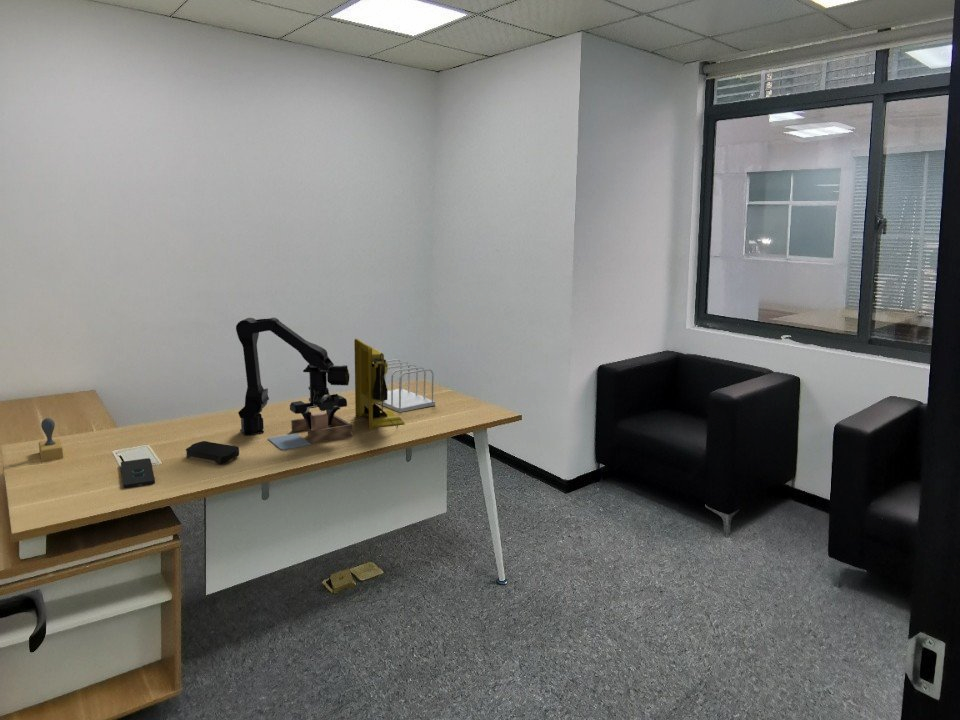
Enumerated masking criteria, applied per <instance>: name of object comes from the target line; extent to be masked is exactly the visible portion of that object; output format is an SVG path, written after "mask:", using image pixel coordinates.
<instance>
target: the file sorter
mask: <svg viewBox="0 0 960 720" xmlns="http://www.w3.org/2000/svg"><path fill="white" fill-rule="evenodd" d="M386 362H387V366H388V370H390V369H395V370H394V371H393V372H392V374H391V377H390V378H391V379H390V380H391V382H390V383H391V390H389V389H388V390H387V391H388V400H384V402H383V407H386V408H388V409H390V410H391V411H395V412H398V413H403V412H408V411H413V410H419V409H422V408H427V407H433V406H436V400H434V380H435V379H434V371H433V370H432V369H430V368H426V369H425V368H424V367H422V366H417V365H416V364H414V363H413V364H412V363H411V364H409V362H407V361H401V360H400V359H397V358H396V359H388V360H386ZM403 364H404V365H403ZM390 365H391V366H390ZM393 365H394V366H393ZM404 367H407V368H404ZM396 368H399V369H396ZM411 370H413V371H411ZM403 371H405V372H403ZM406 371H407V372H406ZM427 371H428V372H430V373H431V399H429V398H427V397H426V376H427V373H426V372H427ZM397 372H400V376H399V381H398V385H399V386H398V388H396V389H394V375H395V374H396V373H397ZM422 372H423V395H421V394H418V381H419V380H418V379H419V378H418V376H419V373H422ZM413 373H414V374H415V392H412V391H410V378H411V376H410V374H413ZM386 375H387V374H386ZM386 375H385V376H384V378H385V379H386V377H387V376H386ZM404 375H407V389H404V388H403V385H402V384H403V376H404ZM378 404H379V405H381V406H382V402H380V403H377V405H378Z"/></svg>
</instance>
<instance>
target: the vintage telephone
mask: <svg viewBox="0 0 960 720" xmlns="http://www.w3.org/2000/svg"><path fill="white" fill-rule="evenodd" d="M386 361H387V360H386V359H385V354H384V353H382V352H381V351H380V350H378V349H376V348H375V347H373V346H370V345H368V344H367V343H366V342H364V341H363V340H360V339H359V338H354V391H355V392H354V395H355V396H354V399H355V400H354V401H355V402H354V403H355V405H354V406H355V411H354V412H355V417H360V416H361V417H362V416H364V417H368V430H369V429H370V430H373V429H374V428H373V427H375V428H381V427H392V426H395V427H396V429H398V426H399V425H404V424H405V421H404V420H403V419H402V418H401V417H400V416H399V415H397V413H395V412H394V410H392V409H390V408H388V409H383V407H384V406H383V402H384V400H388V391H389V390H388V387H387V382H386V378H384V376H385V375H387V373H388V371H389V369H388V367H389V365H387V364H388V362H386ZM380 402H382V405H381V407H380V406H378V403H380ZM391 425H392V426H391ZM372 428H373V429H372Z"/></svg>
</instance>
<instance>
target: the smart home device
mask: <svg viewBox="0 0 960 720" xmlns="http://www.w3.org/2000/svg"><path fill="white" fill-rule="evenodd" d="M120 474H121V478H122V479H121V480H122V481H121V483H122V488H123V489H132V488H138V487H143V486H145V487H146V486H151V485H154V484H155V483H156V480H155V479H156V478H155V475H154V470H153V463H152V460H151V458H150V457H147V458H140V459H139V458H138V459H133V460H126V461H125V460H124V461H121V462H120Z"/></svg>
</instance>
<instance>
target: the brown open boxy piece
mask: <svg viewBox="0 0 960 720" xmlns="http://www.w3.org/2000/svg"><path fill="white" fill-rule="evenodd" d="M290 422H291V424H290V425H291V432H292V433H293V432H298V431H299V432H301V431H305V430H308V431H307V441H308V442H309V443H310V444H315V442H316V443H320V442H321V441H322V442H326V441H331V440H337V439H344V438H349V436H350V437H353V425H352V423H349V422H348V421H346V420H344V419H343V418H341V417H340V416H338V415H336V414H334V416H333V419H332V421H331V424H330V427H328V428H325V429H319V430H313V431H311V430H309V428H308V426H307V423H306V421H305V419H304V417H303V418H296V419H291V421H290ZM322 442H321V443H322Z"/></svg>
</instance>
